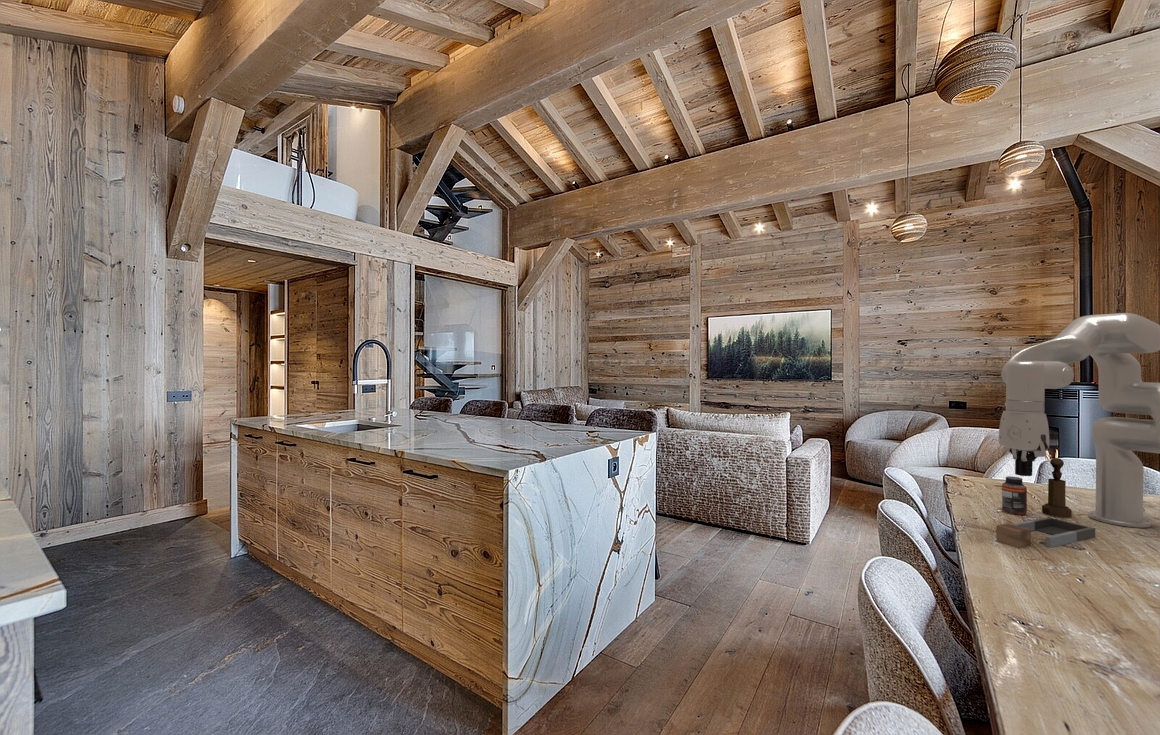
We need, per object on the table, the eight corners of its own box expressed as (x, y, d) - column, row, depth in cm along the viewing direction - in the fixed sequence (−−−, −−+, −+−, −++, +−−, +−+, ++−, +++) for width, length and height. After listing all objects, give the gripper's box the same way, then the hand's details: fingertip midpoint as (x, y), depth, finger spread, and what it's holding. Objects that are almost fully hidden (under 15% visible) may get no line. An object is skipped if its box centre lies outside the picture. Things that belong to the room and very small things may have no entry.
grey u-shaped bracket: (1048, 525, 138) (1048, 517, 138) (1095, 537, 129) (1095, 528, 129) (1004, 534, 131) (1004, 525, 131) (1050, 547, 122) (1050, 537, 122)
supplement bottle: (1016, 510, 153) (1016, 475, 153) (1032, 515, 147) (1032, 480, 147) (996, 509, 154) (997, 475, 153) (1011, 515, 148) (1011, 479, 148)
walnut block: (1007, 539, 128) (1007, 523, 128) (1030, 546, 123) (1030, 529, 123) (996, 541, 126) (996, 525, 126) (1019, 548, 121) (1019, 531, 121)
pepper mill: (1063, 512, 150) (1063, 457, 150) (1077, 519, 144) (1077, 461, 144) (1037, 510, 152) (1037, 455, 152) (1049, 516, 146) (1050, 459, 146)
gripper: (986, 404, 133) (985, 469, 133) (1039, 409, 118) (1037, 482, 118) (1011, 405, 133) (1010, 469, 133) (1068, 410, 118) (1066, 482, 118)
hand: (1023, 475), depth 126 cm, fingers closed
